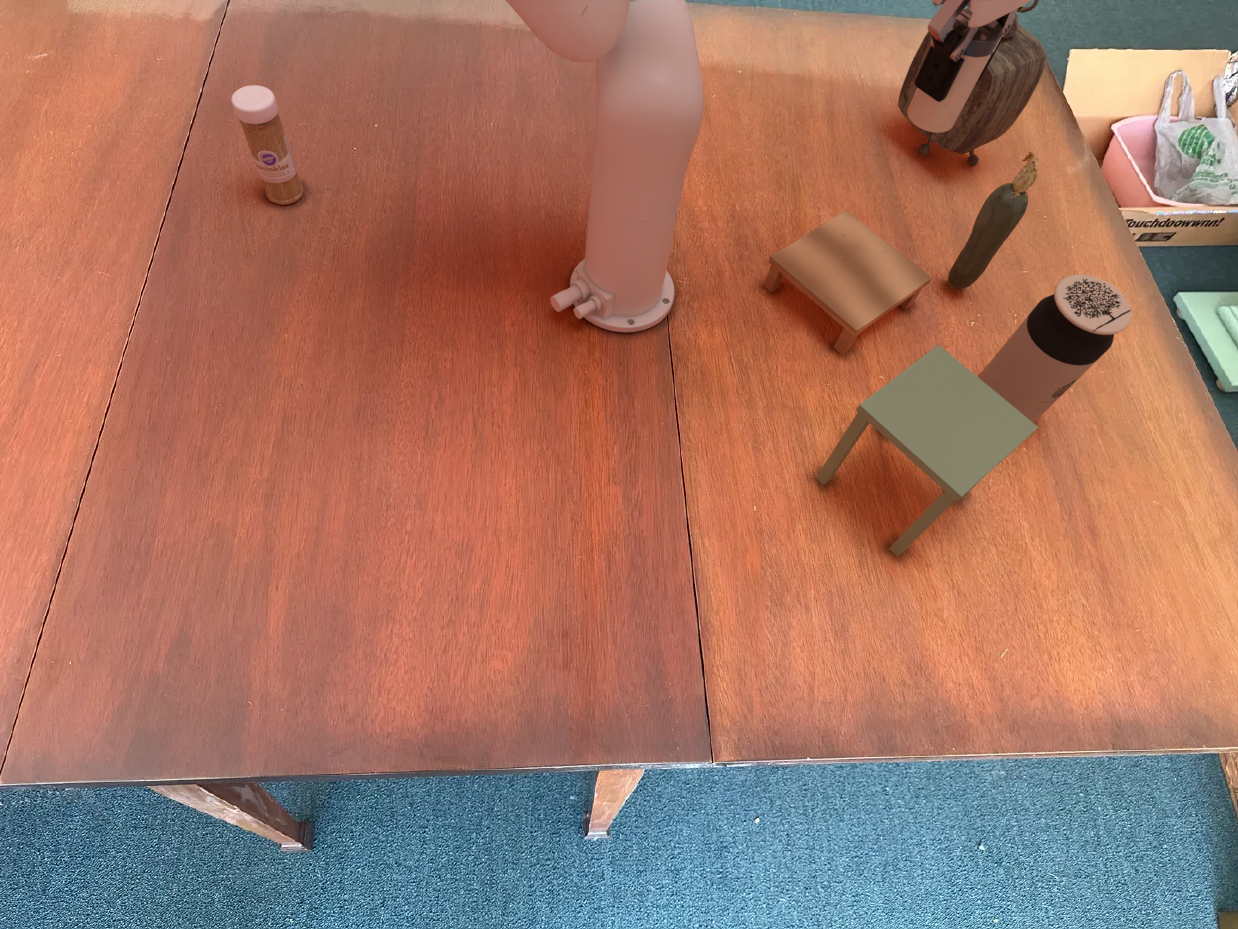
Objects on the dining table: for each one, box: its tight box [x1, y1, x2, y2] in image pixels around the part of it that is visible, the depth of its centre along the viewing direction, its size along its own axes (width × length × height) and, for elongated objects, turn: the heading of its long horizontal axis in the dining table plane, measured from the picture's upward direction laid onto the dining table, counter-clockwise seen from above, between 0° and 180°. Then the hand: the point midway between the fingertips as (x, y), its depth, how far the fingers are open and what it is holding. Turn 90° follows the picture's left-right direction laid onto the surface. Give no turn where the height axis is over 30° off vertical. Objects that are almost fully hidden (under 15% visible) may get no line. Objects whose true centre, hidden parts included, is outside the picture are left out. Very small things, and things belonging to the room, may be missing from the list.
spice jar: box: [907, 8, 1003, 133], centre depth 71 cm, size 5×5×9 cm
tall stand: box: [815, 344, 1039, 558], centre depth 78 cm, size 12×12×14 cm
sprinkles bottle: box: [230, 84, 305, 206], centre depth 91 cm, size 5×5×14 cm
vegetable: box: [947, 151, 1039, 290], centre depth 91 cm, size 4×4×20 cm
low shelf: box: [763, 209, 933, 356], centre depth 95 cm, size 14×14×5 cm
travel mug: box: [977, 274, 1133, 424], centre depth 83 cm, size 8×8×18 cm
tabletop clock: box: [897, 0, 1048, 167], centre depth 103 cm, size 14×9×25 cm, turn 34°
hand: (947, 80), depth 71 cm, fingers closed on spice jar, 4 cm apart
